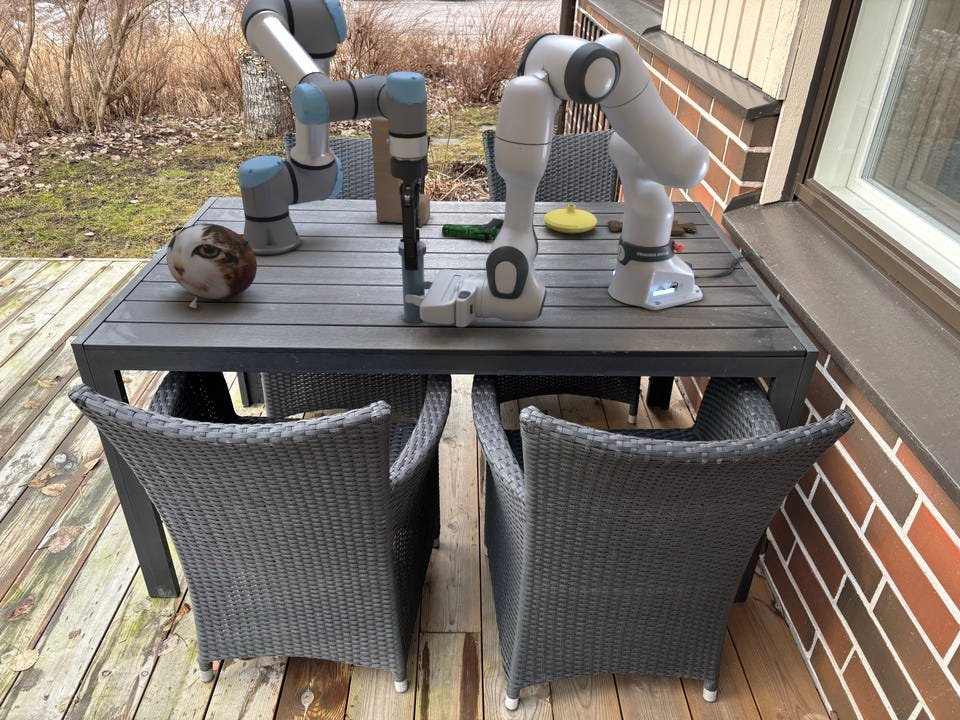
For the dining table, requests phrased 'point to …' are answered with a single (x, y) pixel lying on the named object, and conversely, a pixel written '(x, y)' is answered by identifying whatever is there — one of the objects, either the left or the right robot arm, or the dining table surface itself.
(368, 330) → the dining table surface
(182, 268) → the cat face balloon
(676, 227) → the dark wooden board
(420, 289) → the grey cylinder
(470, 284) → the right robot arm
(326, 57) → the left robot arm
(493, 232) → the handgun
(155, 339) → the dining table surface
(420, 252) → the lid
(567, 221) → the yellow knobbed disc
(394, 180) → the decorative block
